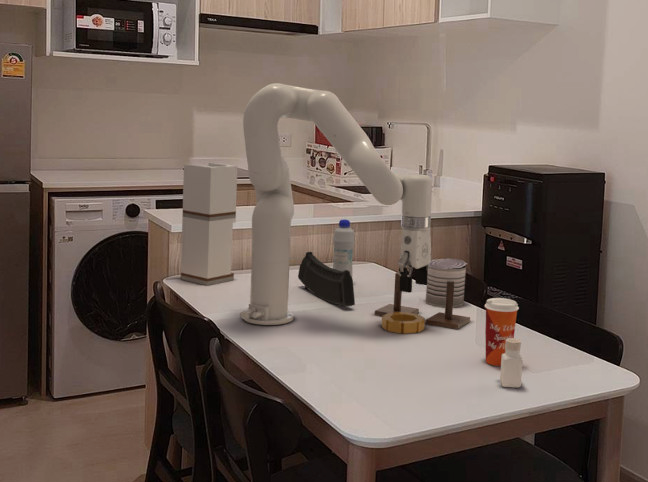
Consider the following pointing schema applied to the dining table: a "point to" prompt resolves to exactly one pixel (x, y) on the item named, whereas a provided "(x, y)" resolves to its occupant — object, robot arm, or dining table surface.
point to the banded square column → (208, 222)
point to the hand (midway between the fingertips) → (413, 287)
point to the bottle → (343, 247)
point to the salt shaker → (511, 364)
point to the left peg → (396, 302)
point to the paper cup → (499, 327)
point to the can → (445, 281)
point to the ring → (403, 322)
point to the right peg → (448, 312)
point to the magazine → (326, 281)
